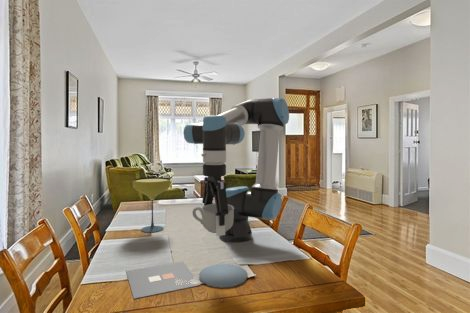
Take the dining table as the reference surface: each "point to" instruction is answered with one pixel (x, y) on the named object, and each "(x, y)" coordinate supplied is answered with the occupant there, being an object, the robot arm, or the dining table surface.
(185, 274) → the card
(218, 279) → the coaster
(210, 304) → the dining table surface
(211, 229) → the teacup
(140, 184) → the cocktail glass
